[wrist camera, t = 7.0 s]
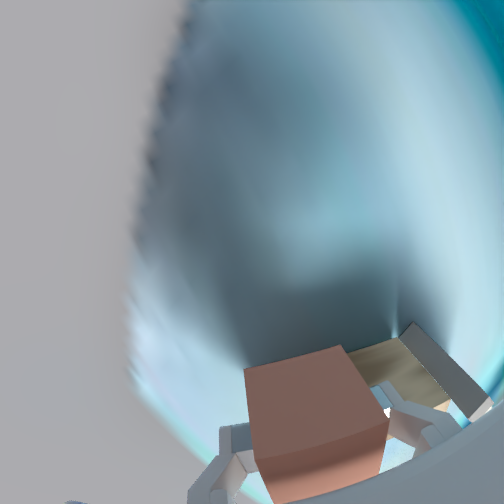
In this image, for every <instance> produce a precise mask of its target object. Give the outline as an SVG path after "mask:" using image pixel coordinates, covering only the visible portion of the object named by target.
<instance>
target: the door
mask: <svg viewBox="0 0 504 504" xmlns="http://www.w3.org/2000/svg"><path fill="white" fill-rule="evenodd" d="M346 354H347V355H348V357H349V358H350V360H351V361H352V363H353V364H354V366H355V367H356V369H357V370H358V372H359V373H360V375H361V376H362V378H363V379H364V381H365V382H366V384H367V385H368V387H372V386H374V385H377V384H379V383H382V382H384V381H386V380H388V381H389V382H390V383H391V384H392V385H393V387H394V388H395V389H396V391H397V392H398V393H399V395H400V396H401V397H402V399H403V400H404V401H407V400H408V401H411V402H414V403H417V404H420V405H423V406H427V407H430V408H433V409H436V410H440V411H443V412H446V411H447V408H448V405H449V403H450V400H451V399H450V397H449V396H448V395H447V394H446V393H445V391H444V390H443V389H442V388H441V387H440V385H439V384H438V383H437V382H436V381H435V380H434V378H433V377H432V376H431V375H430V374H429V373H428V371H427V370H426V369H425V368H424V367H423V366H422V365H421V363H420V362H419V361H418V360H417V359H416V358H415V357H414V355H413V354H412V353H411V352H410V351H409V350H408V349H407V348H406V347H405V345H404V344H403V343H402V342H401V341H400V340H399V339H398V338H397V337H395V338H393V339H390V340H387V341H384V342H381V343H378V344H375V345H372V346H369V347H366V348H363V349H359V350H356V351H353V352H350V353H346ZM391 438H394V437H393V436H391V435H389V434H387V439H386V440H389V439H391Z"/></svg>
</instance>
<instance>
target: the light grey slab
mask: <svg viewBox="0 0 504 504" xmlns="http://www.w3.org/2000/svg"><path fill="white" fill-rule="evenodd" d="M399 339H400V341H401V342H402V343H403V344H404V345H405V346H406V347H407V348H408V349H409V351H410V352H411V353H412V354H413V355H414V356H415V357H416V358H417V360H418V361H419V362H420V363H421V364H422V365H423V366H424V367H425V369H426V370H427V371H428V372H429V373H430V374H431V376H432V377H433V378H434V379H435V380H436V381H437V383H438V384H439V385H440V386H441V387H442V388H443V390H444V391H445V392H446V393H447V394H448V396H449V397H450V398H451V399H452V400H453V402H454V403H455V404H456V405H457V406H458V408H459V409H460V410H461V411H462V412H463V414H464V415H465V416H466V417H467V419H468V420H470V421H471V422H472V423H473V422H474V421H476V420H477V419H479V418H480V417H481V416H483V415H484V414H485V413H487V412H488V411H489V410H491V409H492V407H491V406H492V405H493V404H494V402H493V401H492V400H491V398H490V397H489V396H488V395H487V394H486V393H485V392H484V391H483V389H482V388H481V387H480V386H479V385H478V384H477V383H476V382H475V381H474V380H473V379H472V378H471V377H470V376H469V375H468V374H467V373H466V372H465V371H464V370H463V369H462V368H461V367H460V366H459V365H458V364H457V363H456V362H455V361H454V360H453V359H452V358H451V357H450V356H449V355H448V354H447V353H446V352H445V351H444V350H443V349H442V348H441V347H440V346H439V345H438V344H436V343H435V342H434V341H433V340H432V339H431V338H430V337H429V336H428V335H427V334H426V333H425V332H424V331H423V330H422V329H421V328H420V327H418V326H417V325H416V324H415V323H414V322H412V323H411V324H410V326H409V327H408V328H407V329H406V330H405V331H404V332H403V334H402V335H401V336H400V337H399Z"/></svg>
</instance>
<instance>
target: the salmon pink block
mask: <svg viewBox="0 0 504 504" xmlns="http://www.w3.org/2000/svg"><path fill="white" fill-rule="evenodd" d="M244 378H245V387H246V396H247V405H248V413H249V422H250V430H251V438H252V446H253V454H254V461H255V463H256V465H257V468H258V470H259V472H260V474H261V477H262V479H263V481H264V483H265V486H266V488H267V490H268V492H269V494H270V497H271V499H272V501H273V503H274V504H283V503H288V502H293V501H297V500H301V499H305V498H309V497H313V496H317V495H320V494H324V493H327V492H331V491H334V490H337V489H340V488H343V487H346V486H349V485H352V484H355V483H358V482H360V481H363V480H366V479H368V478H371V477H373V476H376V475H378V474H379V470H380V466H381V462H382V458H383V453H384V449H385V444H386V439H387V434H388V429H389V423H390V419H389V418H388V416H387V415H386V413H385V411H384V410H383V408H382V407H381V405H380V404H379V402H378V401H377V399H376V398H375V396H374V395H373V393H372V391H371V390H370V388H369V387H368V385H367V384H366V382H365V381H364V379H363V378H362V376H361V375H360V373H359V372H358V370H357V369H356V367H355V366H354V364H353V363H352V361H351V360H350V358H349V357H348V355H347V354H346V352H345V351H344V349H343V348H342V346H341V345H337V346H333V347H330V348H327V349H323V350H320V351H316V352H312V353H309V354H305V355H301V356H298V357H294V358H290V359H286V360H282V361H277V362H273V363H269V364H264V365H260V366H255V367H251V368H246V369H244Z"/></svg>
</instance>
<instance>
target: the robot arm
mask: <svg viewBox="0 0 504 504" xmlns="http://www.w3.org/2000/svg"><path fill="white" fill-rule="evenodd" d="M369 388H370V390H371V391H372V393H373V395H374V396H375V398H376V399H377V401H378V402H379V404H380V405H381V407H382V408H383V410H384V411H385V413H386V415H387V416H388V418H389V419H390V423H389V429H388V434H389V435H391V436H393V437H395V438H397V439H399V440H400V441H402V442H404V443H406V444H408V445H410V446H412V447H414V448H416V449H415V452H414V455H413V458H412V459H411V460H409V461H407V462H405V463H403V464H401V465H399V466H396V467H394V468H392V469H390V470H387V471H385V472H383V473H381V474H378V475H376V476H373V477H371V478H368V479H366V480H363V481H360V482H358V483H355V484H352V485H349V486H346V487H343V488H340V489H337V490H334V491H331V492H327V493H324V494H320V495H317V496H313V497H309V498H305V499H301V500H297V501H293V502H288V503H283V504H504V399H503V400H502V401H501V402H500V403H498V404H497V405H496V406H495V407H493V408H492V409H491V410H489V411H488V412H487V413H485V414H484V415H483V416H481V417H480V418H479V419H477V420H476V421H474V422H473V423H472V424H470V425H469V426H467V427H466V428H464V429H462V428H461V427H460V425H459V424H458V423H457V422H456V421H455V419H454V418H453V417H452V416H451V415H450V414H449V413H447V412H443V411H440V410H436V409H433V408H430V407H427V406H423V405H420V404H417V403H414V402H411V401H408V400H407V401H404V400H403V399H402V397H401V396H400V395H399V393H398V392H397V391H396V389H395V388H394V387H393V385H392V384H391V383H390V382H389V381H388V380H386V381H384V382H382V383H379V384H377V385H374V386H372V387H369ZM258 471H259V470H258V468H257V465H256V463H255V461H254V454H253V446H252V438H251V430H250V422H248V423H242V424H236V425H230V426H223V427H220V429H219V455H217V456H215V458H214V459H213V460H212V462H211V463H210V464H209V465H208V467H207V468H206V469H205V470H204V472H203V473H202V474H201V475H200V477H199V478H198V479H197V481H195V483H194V484H193V485H192V486H191V488H190V489H189V490H188V497H187V504H237V503H236V502H235V501H234V500H233V499H234V497H235V496H236V494H237V493H238V491H239V489H240V487H241V485H242V484H243V482H244V480H245V478H246V476H247V474H248V473H253V472H258ZM63 504H87V503H82V502H78V501H67V502H65V503H63Z"/></svg>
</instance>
